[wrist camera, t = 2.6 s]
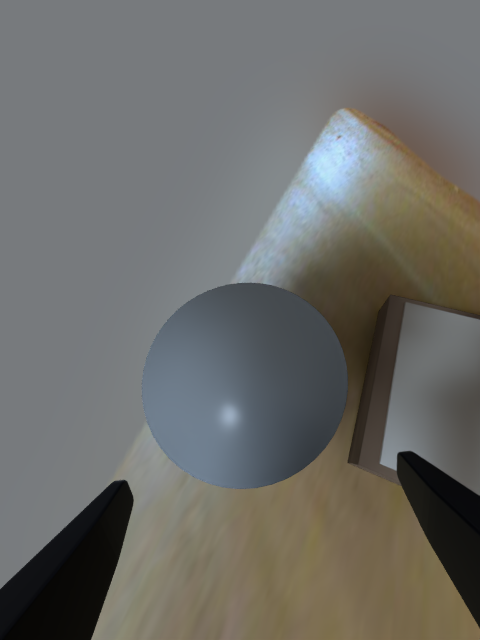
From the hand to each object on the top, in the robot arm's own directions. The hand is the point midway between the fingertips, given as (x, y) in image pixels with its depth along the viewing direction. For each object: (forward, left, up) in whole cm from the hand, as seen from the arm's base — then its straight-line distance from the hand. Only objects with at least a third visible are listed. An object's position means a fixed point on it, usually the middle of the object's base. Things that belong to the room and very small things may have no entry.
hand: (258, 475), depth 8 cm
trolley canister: (+1, -3, -10) cm, 10 cm away
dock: (-11, -8, -10) cm, 17 cm away
